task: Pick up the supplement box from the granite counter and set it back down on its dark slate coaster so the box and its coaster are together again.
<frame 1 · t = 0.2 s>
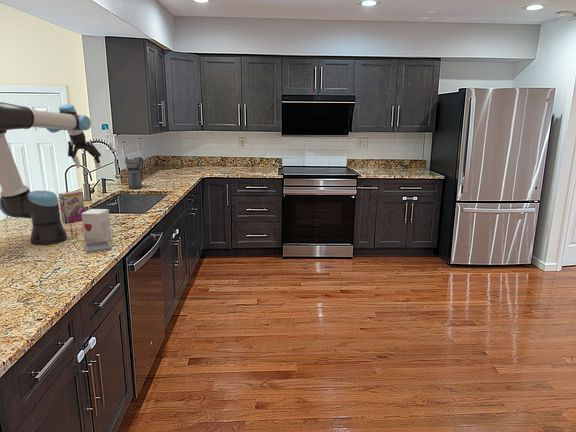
hand: (89, 167, 239), 28 cm above the countertop, tool tilted 20°, fingers open, 13 cm apart
slate coaster: (98, 248, 185), on the countertop
gray tapered canister: (136, 188, 324), on the countertop
candy bar box: (74, 221, 230), on the countertop
supplement box: (98, 242, 195), on the countertop
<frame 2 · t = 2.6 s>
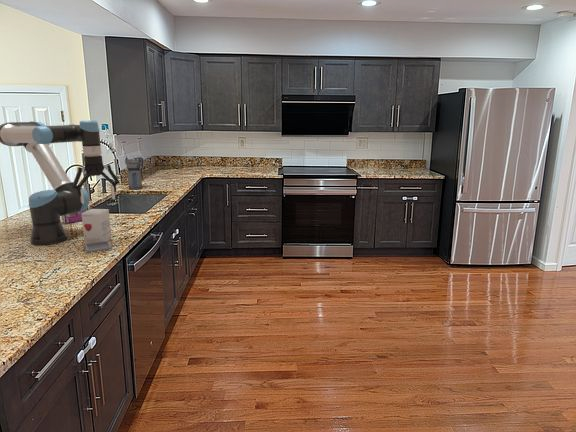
hand: (98, 201, 192), 19 cm above the countertop, tool pointing down, fingers open, 13 cm apart
nothing on the countertop moved.
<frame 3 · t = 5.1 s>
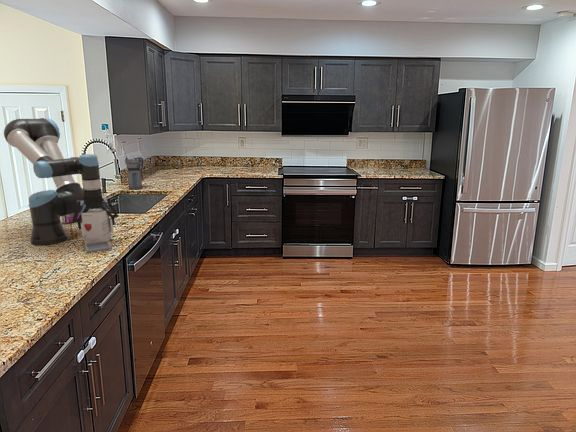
hand: (97, 233, 194), 4 cm above the countertop, tool pointing down, fingers closed on supplement box, 12 cm apart
supplement box: (98, 242, 195), on the countertop, touching gripper
everything else where it was.
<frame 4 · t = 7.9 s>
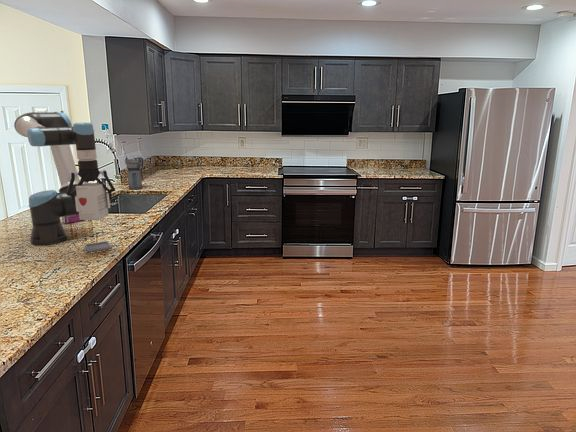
hand: (93, 209, 181), 18 cm above the countertop, tool pointing down, fingers closed on supplement box, 12 cm apart
supplement box: (94, 218, 182), point 14 cm above the countertop, touching gripper
everything else where it was.
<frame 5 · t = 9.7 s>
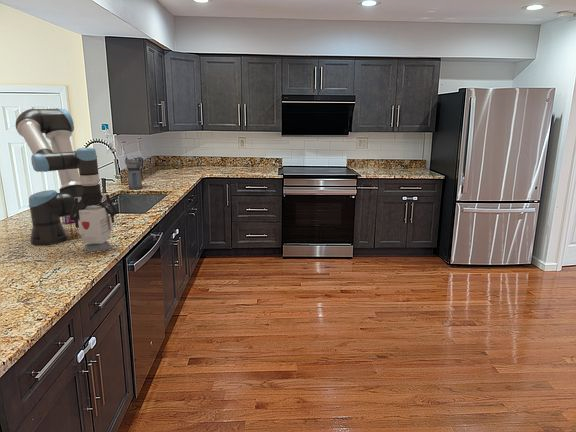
hand: (96, 232, 183), 8 cm above the countertop, tool pointing down, fingers closed on supplement box, 12 cm apart
supplement box: (97, 241, 184), point 4 cm above the countertop, touching gripper
everything else where it was.
when the fingers open (7 cm above the countertop, at t = 11.0 s): supplement box drops 1 cm, resting on slate coaster.
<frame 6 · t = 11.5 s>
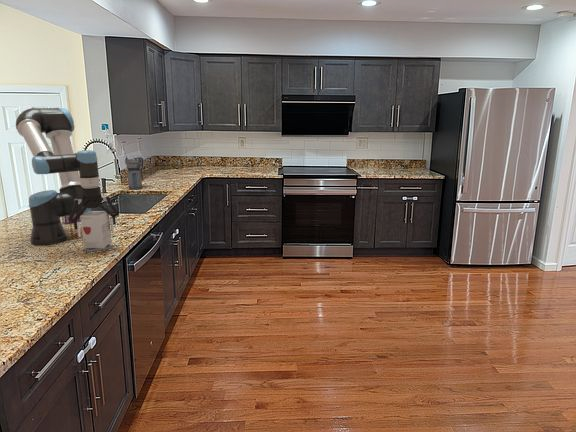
hand: (96, 233, 183), 7 cm above the countertop, tool pointing down, fingers open, 13 cm apart
supplement box: (98, 245, 185), point 1 cm above the countertop, touching slate coaster
everything else where it was.
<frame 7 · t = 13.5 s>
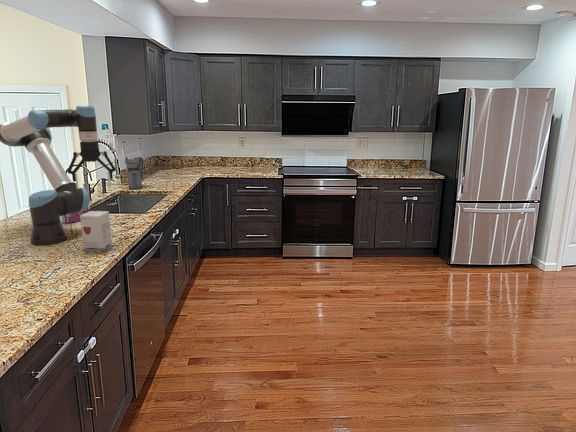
hand: (94, 187, 191), 26 cm above the countertop, tool pointing down, fingers open, 13 cm apart
nothing on the countertop moved.
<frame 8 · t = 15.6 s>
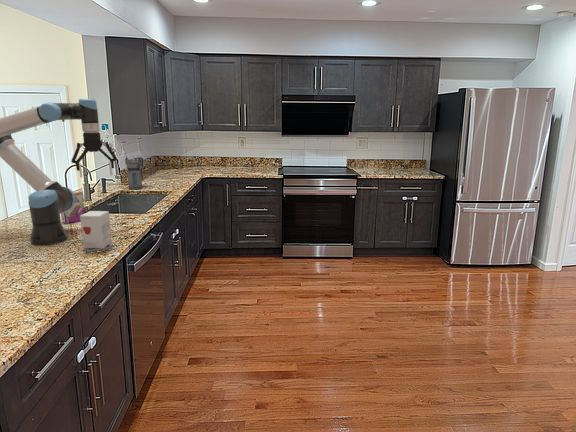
hand: (96, 176, 203), 29 cm above the countertop, tool pointing down, fingers open, 13 cm apart
nothing on the countertop moved.
at the end: supplement box 0.2 cm off-centre on the slate coaster, point 1.3 cm above the slate coaster's base; supplement box tilted 0°; the gripper is holding nothing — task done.
